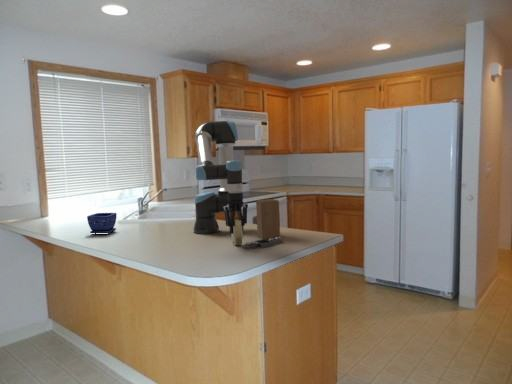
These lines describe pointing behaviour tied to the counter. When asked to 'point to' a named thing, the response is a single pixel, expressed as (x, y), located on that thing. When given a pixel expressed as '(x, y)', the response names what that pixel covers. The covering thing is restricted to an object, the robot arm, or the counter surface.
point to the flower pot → (102, 222)
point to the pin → (237, 232)
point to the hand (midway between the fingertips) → (237, 238)
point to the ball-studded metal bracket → (263, 243)
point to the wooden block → (268, 218)
